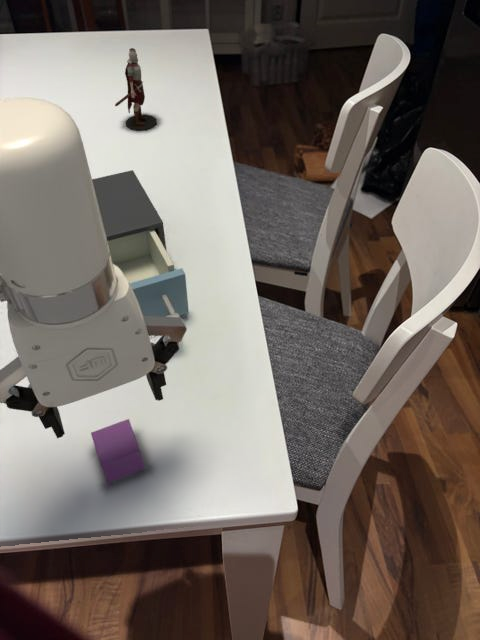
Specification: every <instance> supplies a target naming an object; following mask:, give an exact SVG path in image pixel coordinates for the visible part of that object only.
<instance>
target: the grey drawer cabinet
mask: <svg viewBox="0 0 480 640" xmlns="http://www.w3.org/2000/svg"><path fill="white" fill-rule="evenodd" d="M92 182H93V186H94V190H95V194H96V198H97V202H98V206H99V210H100V214H101V218H102V222H103V226H104V230H105V234H106V238H107V241H110V240H114V239H118V238H121V237H125V236H129V235H133V234H137V233H140V232H144V231H148V230H152V229H154V230H155V232H156V234H157V235H158V237H159V239H160V241H161V243H162V244H163V246H164V248H165V250H166V252H167V253H168V251H167V242H166V235H165V227H164V221H163V219H162V218H161V216H160V215H159V213H158V210H157V209H156V207H155V205H154V203H153V202H152V200H151V199H150V197H149V195H148V194H147V192H146V190H145V188H144V186H143V185H142V183H141V182H140V180H139V178H138V176H137V175H136V173H135V170H132V169H131V170H127V171H123V172H117V173H113V174H109V175H106V176H100V177H97V178H92Z"/></svg>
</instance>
